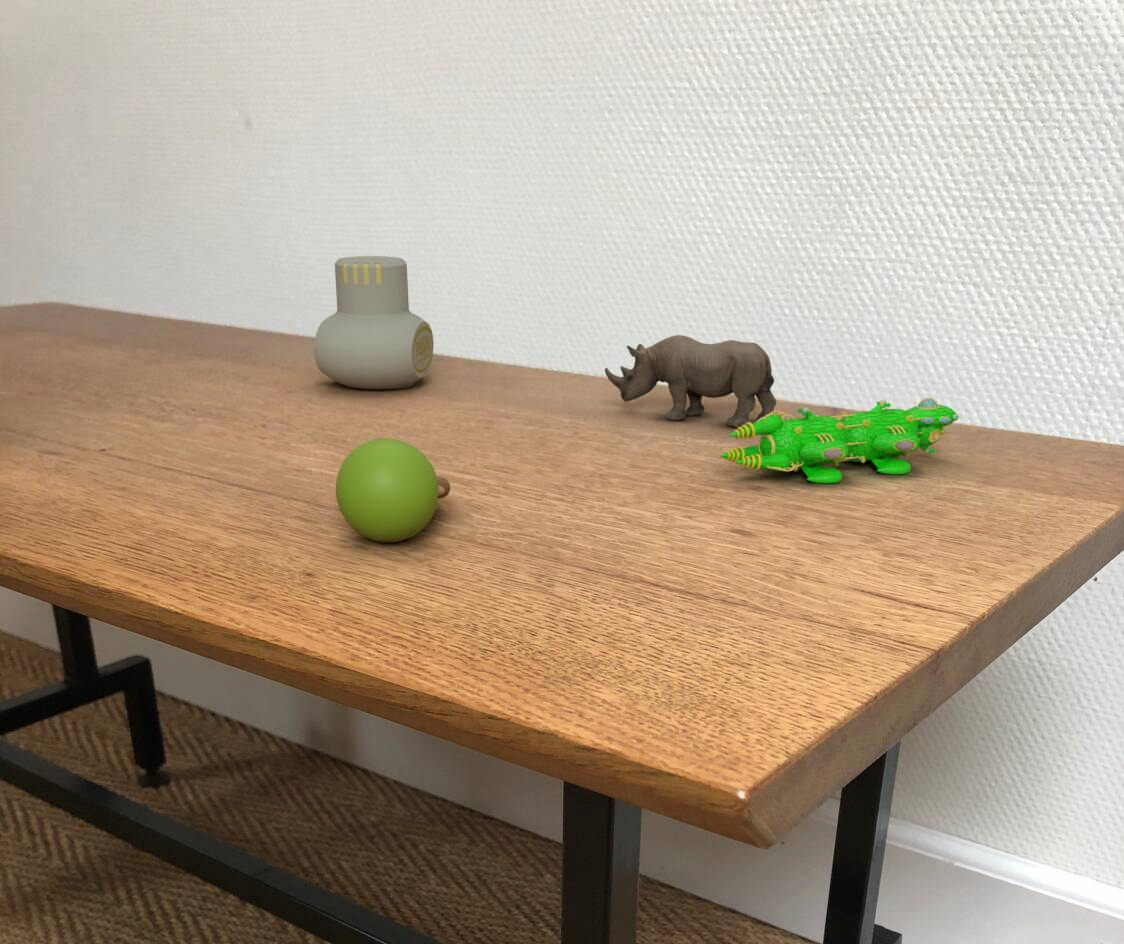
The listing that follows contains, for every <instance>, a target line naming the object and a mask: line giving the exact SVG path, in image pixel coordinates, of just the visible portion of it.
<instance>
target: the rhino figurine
mask: <svg viewBox="0 0 1124 944" xmlns="http://www.w3.org/2000/svg"><path fill="white" fill-rule="evenodd" d="M626 348H627V350H628V352H629V354H630V356H631V357H633V358H634V365H633V367H632V368H630V369H629V368H627V367H625V366H623V365H621V366H620V367H619V369H620V371H621V373H622V376H618V375H615V374H613V373H612V372H611V371H610V370H609V368H608V367H605V368H604V373H605V376H606V377H607V379H608V381H610V382H611V383H612V384H613V385H614V386H615V387H616V388H617V389H618V390H619V391H620V397H621V399H622V400H623V402H625V403H627V402H631V401H633V400H637V399H639V398H640V397H644V396H645V395H647V394H649V393H650V392H651V391H652V390H653V389H654V388H656V386H657V385H658V382H660V383H667V385H668V390H669V393H670V396H671V397H672V398H671V399H672V403H673V406H672V408H671V409H670V411H668V412H667V414H666V416H665V418H666V420H668V421H681V420H684V419H686V418H687V416H691V417H693V416H698V415H701V414H703V413H704V411H705V407H704V404H703V402H702V399H703V397H705V398H709V399H716V398H722V397H726V396H729V395H732V394H734V396H735V397H736V399H737V405H736V409H735V412H734V414H733V415H731V416H730V417H729V418H728V419H727V421H726V425H727V426H729V427H734V428H738V427H741V426H742V425H745V424H746V423H747V422H750V423H751V420H750V416H749V415H750V413H751V412H753V411H754V409H756V399H757V400H758V402H759V404H760V406H761V409H762V410H761V412H760V413H758V415H757V417H756V420H755V422H756V421H758V420H759V419H760V418H762V417H765V416H766V415H768V414H770V413H771V412H773V411H775V407H776V405H777V399H776V397H775V394H774V393H773V392H772V390H771V388H772V386H773V385H774V383H775V378H774V376H773V374H772V371H773V370H772V364H771V359H770V356H769V355H768V353H767V352H766V351H765V349H763V348H762V347H761V346H760V345H759V344H758V343H757V342H745V341H739V340H734V339H730V340H729V339H728V340H725V341H724V340H723V341H721V342H716V343H703V342H700V341H699V340H696V339H694V338H692V337H691V336H687V335H683V334H682V335H681V334H677V335H676V334H675V335H671V336H668V337H666V338H664V339H662V340H660V341H658V342H656V343H654V344H653V345H650V346H648V347H645V346H644V345H643V344H642V343H638V345H637V346H636V348H633V347H632V346H629V345H626ZM688 401H689V406H688V407H687V403H688ZM686 407H687V408H686ZM772 414H775V412H774V413H772Z"/></svg>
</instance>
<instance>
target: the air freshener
mask: <svg viewBox="0 0 1124 944" xmlns="http://www.w3.org/2000/svg"><path fill="white" fill-rule="evenodd" d="M334 274H335V276H334V278H335V293H336V295H335V296H336V312H335V313H333V314H331V315H330V316H328V317H326V318H325V319H324V320H323V321H322V322H321V323H320V324H319V326H318V327H317V329H316V334H315V336H314V343H313V353H314V354H313V355H314V361H315V364H316V366H317V368H318V370H319V371H320V372H321V373H322V374H324V375H325V376H326V377H328V378H329V379H331V380H332V381H334V382H336V383H338V384H340V385H342V386H345V387H348V388H351V389H352V388H353V389H361V390H398V389H405V388H410V387H412V386H413V385H414V384H415V383H416V382H418V381H419V380H421V379H422V378H424V377H425V376H426V375H427V374H428V373H429V370H430V368H431V365H432V362H433V357H434V345H435V343H434V334H433V330H432V327H431V326H430V323H428V322H427V321H426V320H425V319H423V317H420V316H418V315H417V314H416V313H414V312H411V310H410V303H409V283H408V282H409V281H408V264H407V262H406V261H405V260H404V259H403V258H401V257H395V256H384V255H383V256H382V255H367V256H366V255H361V256H346V257H340V258H338V259H337V260H336V261H335V262H334Z"/></svg>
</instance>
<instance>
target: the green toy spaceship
mask: <svg viewBox="0 0 1124 944" xmlns="http://www.w3.org/2000/svg"><path fill="white" fill-rule="evenodd" d="M891 406H893V404H892V403H890V402H887V400H884V399H882V400H879V401H877V402H876V405H875V406H874V407H873V408H871V409H870V410H864V411H857V412H852V413H850V414H848V413H847V412H845V411H842V412H841V413H840V415H834V416H833V415H832V416H830V415H829V416H828V415H820V414H814V413H813V412H812V411H811V410H810V409H809V408H808V407H803V408H798V410H795V413H799V414H801V415H802V416H803V417H797V418H795V417H794V416H793V414H789V413H786V412H785V411H780V410H779V409H778V410H774V411H773V412H771V413H770V414H768V415H766V416H765V417H762V418H760V419H759V420H758V421H756V420H755V421H754V422H753V423H752V422H751V421H750V422H747V423H746V424H745V425H742V426H740V427H736V429H735V430H733V432H732V433H730V434H729V437H730V438H735V439H737V440H738V439H741V440H742V439H753V438H755V436H759V435H760V438H759V440H758V444H755V445H750V446H747V447H742V446H736V447H734V448H731V449H728V450H726V451H724V453H722V454H720V457H721V458H722V459H724V460H725V461H728V462H732V463H735V464H737V465H740V467H744V468H745V469H749V470H754V471H759V470H760V469H764V470H769V471H775V472H791V471H793V472H798V470H799V469H800V470H802V471H803V472H804V474H805V475H806V476H807V478H806V480H807V481H808V482H811V483H816V484H835V483H839V482H840V481H842V480H843V474H842V472H841V471H840V470H838V469H836V468H834V467H838V466H839V463H842V462H860V463H861V464H865V463H866V461H871V462H872V463H873V464H874V465H875V467H876V469H877V470H876V471H877V472H879V473H881V474H886V475H906V474H908V473H909V472H911V470H912V466H911V464H910V463H909V462H908V461H906V460H904V459H907V458H908V457H909V452H915V451H916V450H918V449H919V448H920V449H921V451H923V453H924V454H925V455H930V454H935V452H936V453H937V450H935V449H934V448H932V447H931V446H932V445H934V444H935V443H937V442H938V441H939V440H940V438H941V436H942V435H946V434H947V433H948V431H947V429H946V428H945V427H947V426H950V425H951V424H953V423H954V422H957V421H958V420H959V418H960V415H959V414H958V413H957V412H956V411H955V410H954V409H953V408H951V407H949V406H947V405H943V404H939V402H938V401H937V400H936V399H934V398H932V397H925V398H924V399H922V400H920V401H919V403H918V405H917V406H912V407H911V408H909V409H906V410H904V409H902V408H890V407H891ZM772 413H774V414H772ZM780 415H781V416H780ZM785 417H786V419H785ZM789 417H791V418H789ZM901 456H902V457H903V458H904V459H901V458H900V457H901ZM831 464H832V465H833V466H834V467H829V466H828V465H831ZM824 466H828V467H824Z"/></svg>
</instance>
